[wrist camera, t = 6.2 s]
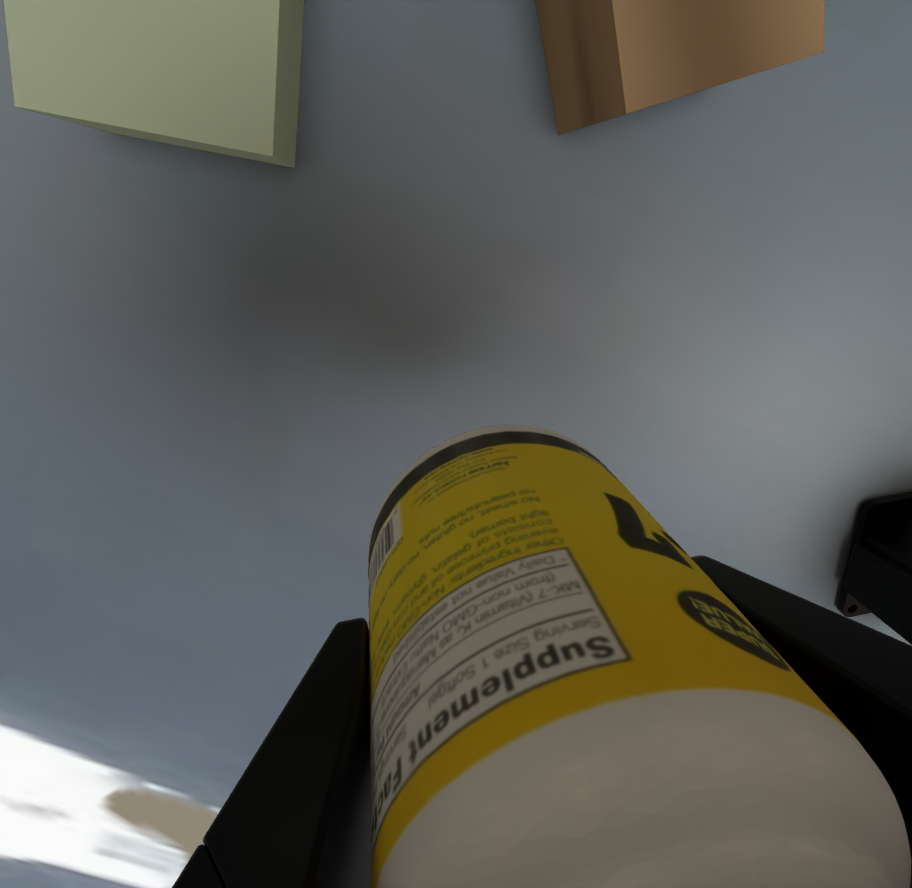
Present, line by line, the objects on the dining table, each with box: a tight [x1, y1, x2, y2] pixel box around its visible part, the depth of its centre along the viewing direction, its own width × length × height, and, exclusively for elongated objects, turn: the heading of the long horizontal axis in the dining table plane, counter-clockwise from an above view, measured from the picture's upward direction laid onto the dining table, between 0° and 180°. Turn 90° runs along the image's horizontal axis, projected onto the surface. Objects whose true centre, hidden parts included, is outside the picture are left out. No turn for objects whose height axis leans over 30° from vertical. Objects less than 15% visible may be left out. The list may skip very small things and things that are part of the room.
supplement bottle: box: [368, 425, 911, 888], centre depth 7 cm, size 5×5×8 cm
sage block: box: [4, 0, 304, 168], centre depth 13 cm, size 5×5×5 cm
